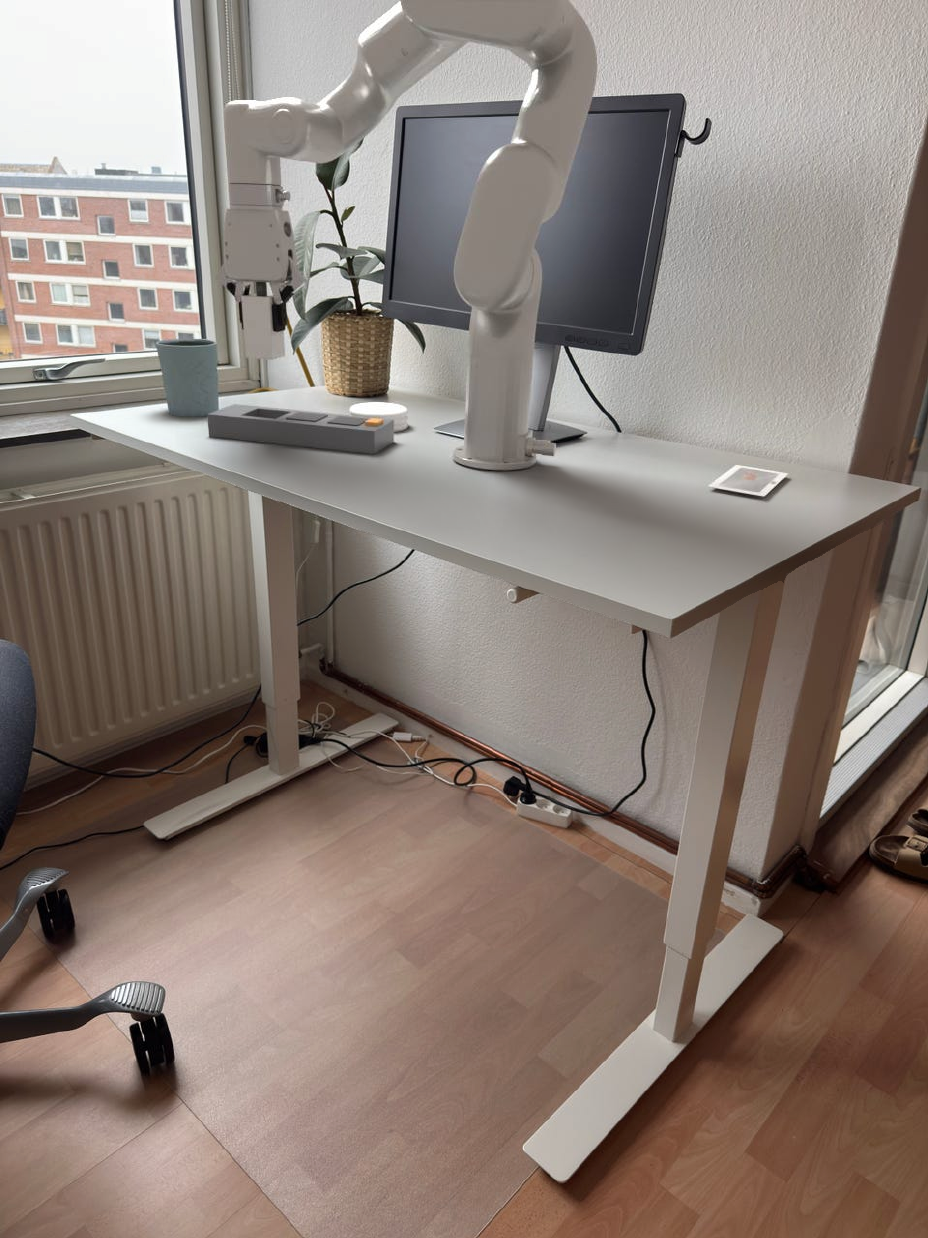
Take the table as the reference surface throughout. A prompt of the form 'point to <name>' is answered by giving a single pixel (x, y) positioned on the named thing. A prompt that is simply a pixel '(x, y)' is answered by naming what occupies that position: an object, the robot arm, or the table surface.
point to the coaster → (382, 413)
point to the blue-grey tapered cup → (189, 376)
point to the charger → (261, 326)
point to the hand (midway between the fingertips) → (263, 328)
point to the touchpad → (748, 480)
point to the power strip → (302, 428)
